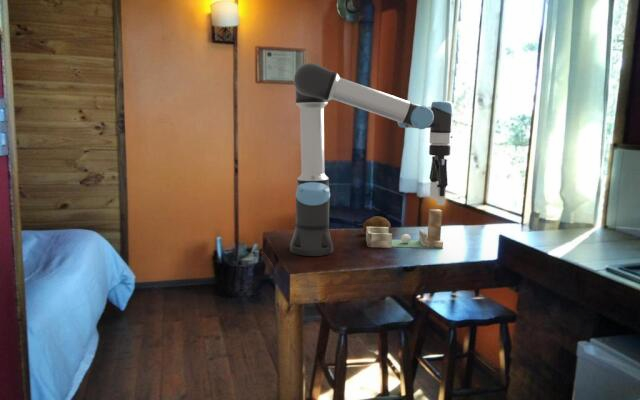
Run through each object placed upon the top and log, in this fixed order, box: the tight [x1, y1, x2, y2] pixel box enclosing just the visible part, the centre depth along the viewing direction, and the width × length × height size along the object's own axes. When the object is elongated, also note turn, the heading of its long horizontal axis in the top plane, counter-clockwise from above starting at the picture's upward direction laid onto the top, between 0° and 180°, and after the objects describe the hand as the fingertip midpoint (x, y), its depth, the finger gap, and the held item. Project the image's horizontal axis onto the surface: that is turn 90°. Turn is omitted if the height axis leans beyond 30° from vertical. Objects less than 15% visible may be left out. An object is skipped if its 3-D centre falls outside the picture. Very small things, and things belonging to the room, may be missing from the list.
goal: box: [365, 227, 393, 249], centre depth 195 cm, size 9×12×5 cm
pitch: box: [391, 239, 444, 250], centre depth 195 cm, size 26×10×1 cm, turn 89°
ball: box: [400, 233, 412, 244], centre depth 195 cm, size 4×4×4 cm
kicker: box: [418, 208, 444, 248], centre depth 194 cm, size 7×10×13 cm
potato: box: [362, 215, 391, 234], centre depth 208 cm, size 8×12×8 cm, turn 122°
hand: (436, 201), depth 192 cm, fingers open, 13 cm apart
